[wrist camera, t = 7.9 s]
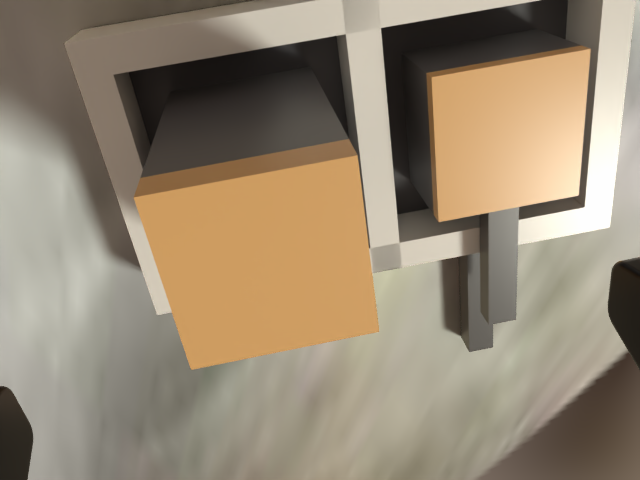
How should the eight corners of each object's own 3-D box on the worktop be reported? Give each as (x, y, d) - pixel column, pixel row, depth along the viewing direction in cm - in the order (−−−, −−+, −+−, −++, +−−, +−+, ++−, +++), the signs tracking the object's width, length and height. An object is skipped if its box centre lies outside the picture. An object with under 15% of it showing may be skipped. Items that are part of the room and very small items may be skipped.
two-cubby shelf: (599, -59, 18) (641, -56, 16) (577, 201, 23) (609, 227, 21) (81, 29, 18) (63, 43, 16) (163, 280, 22) (157, 314, 20)
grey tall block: (310, 66, 19) (357, 154, 12) (329, 193, 21) (379, 331, 14) (169, 92, 19) (133, 197, 12) (204, 218, 21) (191, 369, 14)
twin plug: (534, 27, 19) (590, 48, 16) (523, 324, 25) (563, 380, 22) (399, 51, 19) (431, 77, 16) (421, 344, 25) (447, 403, 22)
